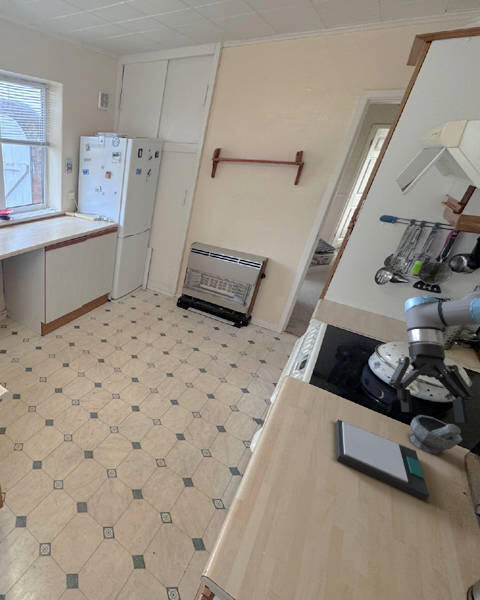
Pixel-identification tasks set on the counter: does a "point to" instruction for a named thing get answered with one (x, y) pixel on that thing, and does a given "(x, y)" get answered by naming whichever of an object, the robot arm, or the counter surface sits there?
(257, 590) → the counter surface
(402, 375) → the robot arm
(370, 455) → the kitchen scale
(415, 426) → the mortar and pestle
